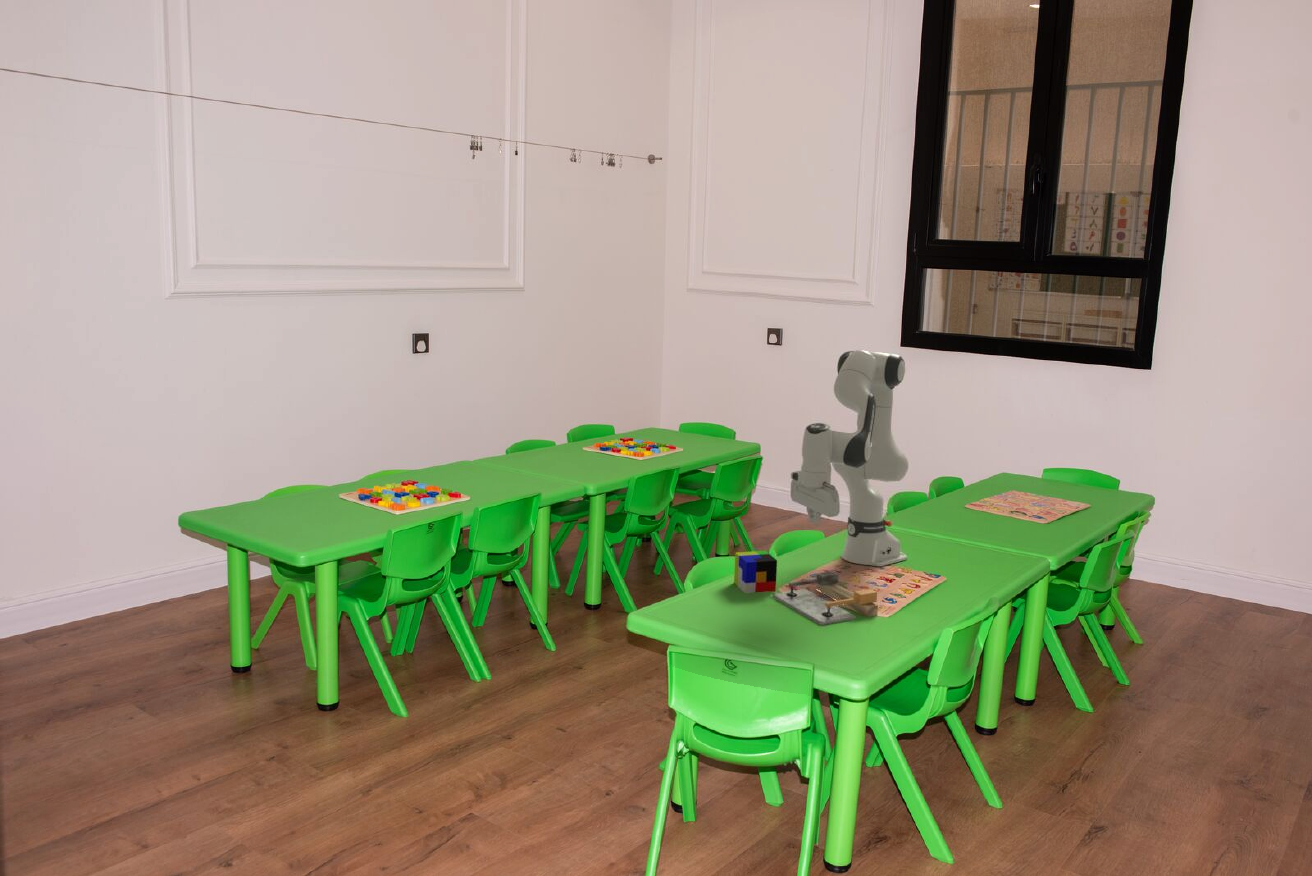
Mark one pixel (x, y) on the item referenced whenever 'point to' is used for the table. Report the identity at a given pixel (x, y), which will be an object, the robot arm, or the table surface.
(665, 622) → the table surface
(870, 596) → the sliding leg
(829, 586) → the dividers rail
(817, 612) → the bolt plate
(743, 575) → the puzzle toy
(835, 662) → the table surface
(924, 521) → the table surface
